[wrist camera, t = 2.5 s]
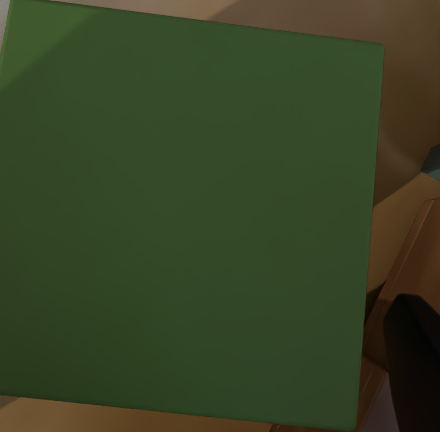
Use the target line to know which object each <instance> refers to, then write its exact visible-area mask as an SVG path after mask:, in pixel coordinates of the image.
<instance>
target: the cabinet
mask: <svg viewBox="0 0 440 432" xmlns="http://www.w3.org/2000/svg"><path fill="white" fill-rule="evenodd" d="M270 432H399V428H398V424H397V419H396V415H395V411H394V406H393V402H392V397H391V390H390V384H389V376H388V370H387V369H386V368H384V367H382V366H381V365H379V364H378V363H376V362H374V361H373V360H371V359H370V358H368V357H366V356H365V355H363V354H362V357H361V370H360V383H359V397H358V410H357V424H356V428H355V430H353V431H340V430H330V429H321V428H311V427H302V426H292V425H283V424H273V425H272V427H271V430H270Z"/></svg>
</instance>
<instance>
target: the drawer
mask: <svg viewBox="0 0 440 432" xmlns="http://www.w3.org/2000/svg"><path fill="white" fill-rule="evenodd" d="M421 171H422V172H424V173H426V174H428V175H430V176H431V177H433V178H435V179H437V180H439V181H440V144H438V145H436V146H434V147H432V148H431V149H430V152H429V154H428V156H427V158H426V160H425V162H424V164H423V166H422V168H421ZM400 293H406V294H415V295H419V296H421V297H422V298H423V299H424V300H425V301H426V302H427V303H428V304H429V305H430V306H431V307H432V308H433V309H434V310H435V311H436V312H437V313H438V314H439V315H440V198H436V199H431V200H427V201H424V202H423V204H422V206H421V208H420V210H419V212H418V214H417V217H416V219H415V221H414V223H413V225H412V227H411V229H410V231H409V233H408V235H407V238H406V240H405V242H404V244H403V246H402V248H401V250H400V252H399V254H398V256H397V259H396V261H395V263H394V265H393V267H392V269H391V271H390V273H389V275H388V278H387V280H386V282H385V284H384V286H383V288H382V290H381V292H380V294H379V296H378V299H377V301H376V303H375V305H374V307H373V309H372V311H371V313H370V315H369V317H368V320H367V322H366V324H365V326H364V330H363V343H362V354H363V355H365V356H366V357H368V358H370V359H371V360H373V361H374V362H376V363H378V364H379V365H381V366H382V367H384V368H386V369H387V370H388V367H387V359H386V351H385V343H384V335H383V318H384V315H385V314H386V312H387V310H388V309H389V307H390V305H391V304H392V302H393V300H394V299H395V297H396V296H397V295H398V294H400Z"/></svg>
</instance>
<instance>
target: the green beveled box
mask: <svg viewBox="0 0 440 432" xmlns="http://www.w3.org/2000/svg"><path fill="white" fill-rule="evenodd" d="M383 63H384V46H383V45H382V44H380V43H374V42H366V41H358V40H351V39H343V38H335V37H327V36H320V35H312V34H304V33H297V32H289V31H281V30H273V29H266V28H258V27H250V26H243V25H235V24H227V23H220V22H212V21H204V20H196V19H189V18H181V17H173V16H166V15H158V14H150V13H142V12H135V11H127V10H119V9H112V8H104V7H96V6H88V5H81V4H73V3H65V2H58V1H50V0H10V5H9V11H8V16H7V22H6V27H5V33H4V38H3V44H2V50H1V55H0V395H7V396H16V397H26V398H35V399H45V400H54V401H64V402H73V403H83V404H92V405H102V406H111V407H121V408H130V409H140V410H149V411H159V412H169V413H178V414H188V415H197V416H207V417H216V418H226V419H235V420H245V421H254V422H264V423H273V424H283V425H292V426H302V427H311V428H321V429H330V430H340V431H353V430H355V428H356V424H357V410H358V397H359V383H360V370H361V357H362V343H363V330H364V317H365V303H366V290H367V277H368V263H369V250H370V237H371V223H372V210H373V196H374V183H375V170H376V156H377V143H378V130H379V116H380V103H381V90H382V76H383Z"/></svg>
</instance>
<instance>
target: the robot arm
mask: <svg viewBox="0 0 440 432" xmlns="http://www.w3.org/2000/svg"><path fill="white" fill-rule="evenodd" d="M383 335H384V343H385V351H386V359H387V367H388V376H389V384H390V390H391V397H392V402H393V406H394V411H395V415H396V419H397V424H398V428H399V432H440V315H439V314H438V313H437V312H436V311H435V310H434V309H433V308H432V307H431V306H430V305H429V304H428V303H427V302H426V301H425V300H424V299H423V298H422V297H421V296H419V295H415V294H406V293H400V294H398V295H397V296H396V297H395V299H394V300H393V302H392V304H391V305H390V307H389V309H388V310H387V312H386V314H385V315H384V318H383Z"/></svg>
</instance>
